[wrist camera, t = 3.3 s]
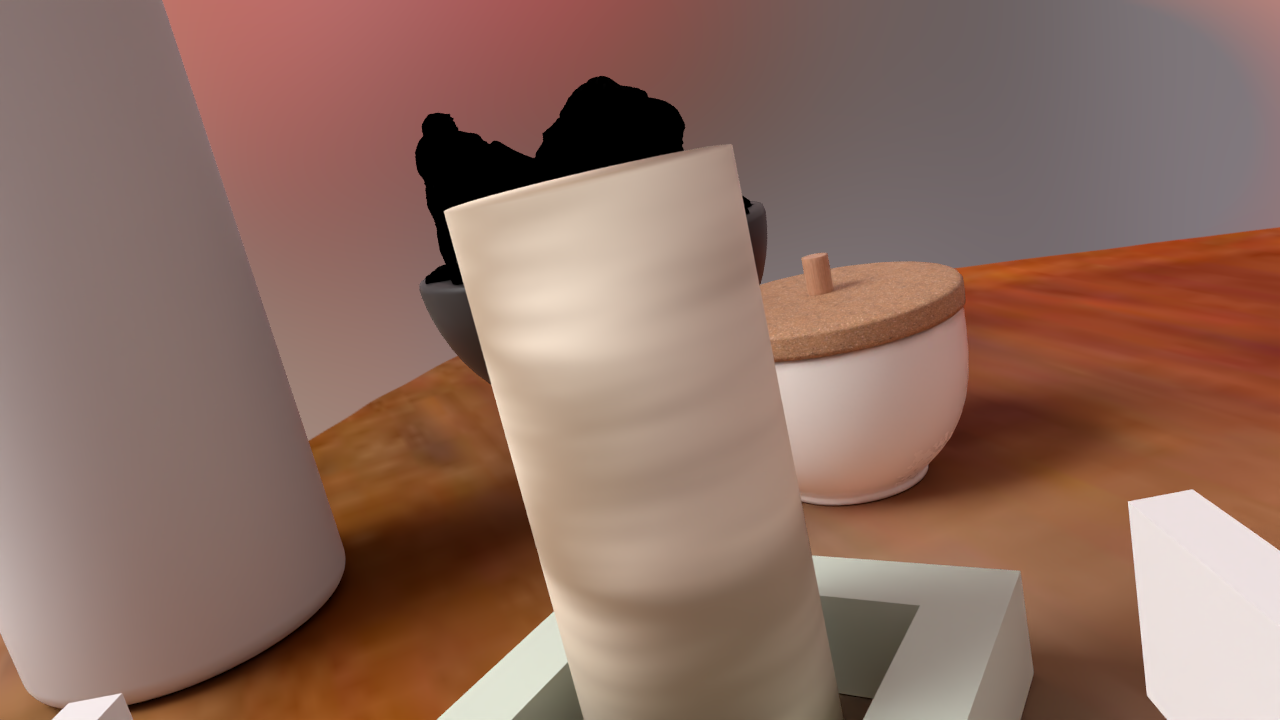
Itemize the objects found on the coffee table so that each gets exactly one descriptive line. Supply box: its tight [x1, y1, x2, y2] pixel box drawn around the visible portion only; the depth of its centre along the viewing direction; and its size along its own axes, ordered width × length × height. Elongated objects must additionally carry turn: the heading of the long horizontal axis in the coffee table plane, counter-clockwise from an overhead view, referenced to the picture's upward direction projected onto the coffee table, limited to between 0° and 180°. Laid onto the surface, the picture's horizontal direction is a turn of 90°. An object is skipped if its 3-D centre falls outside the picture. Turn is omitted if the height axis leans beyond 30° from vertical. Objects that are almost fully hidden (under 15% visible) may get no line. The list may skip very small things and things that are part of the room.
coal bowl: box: [415, 76, 767, 384], centre depth 53 cm, size 20×20×19 cm
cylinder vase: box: [0, 0, 345, 709], centre depth 35 cm, size 12×12×25 cm
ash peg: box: [444, 144, 844, 720], centre depth 21 cm, size 6×6×15 cm
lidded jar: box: [760, 253, 968, 506], centre depth 37 cm, size 11×11×9 cm
